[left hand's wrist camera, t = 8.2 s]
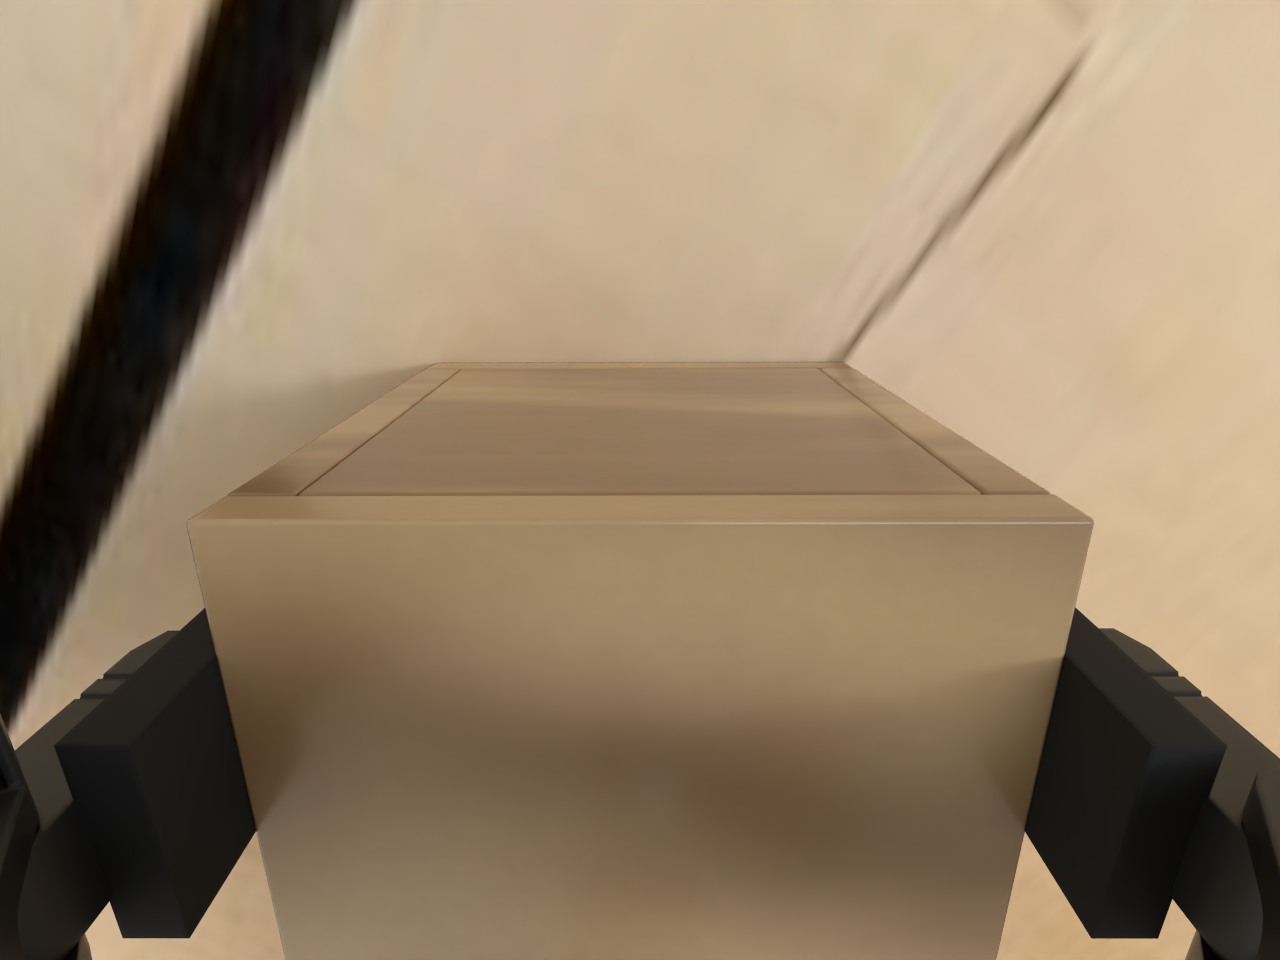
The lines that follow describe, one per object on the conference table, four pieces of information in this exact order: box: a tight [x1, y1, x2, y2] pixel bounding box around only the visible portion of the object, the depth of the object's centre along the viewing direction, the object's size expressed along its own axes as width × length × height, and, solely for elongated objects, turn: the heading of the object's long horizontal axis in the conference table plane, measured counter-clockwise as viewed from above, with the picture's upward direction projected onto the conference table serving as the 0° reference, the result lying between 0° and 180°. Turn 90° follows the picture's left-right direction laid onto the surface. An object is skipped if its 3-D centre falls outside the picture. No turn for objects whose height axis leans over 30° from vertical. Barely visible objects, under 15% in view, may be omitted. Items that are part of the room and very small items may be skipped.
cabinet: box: [187, 362, 1094, 960], centre depth 16 cm, size 21×10×10 cm, turn 0°
